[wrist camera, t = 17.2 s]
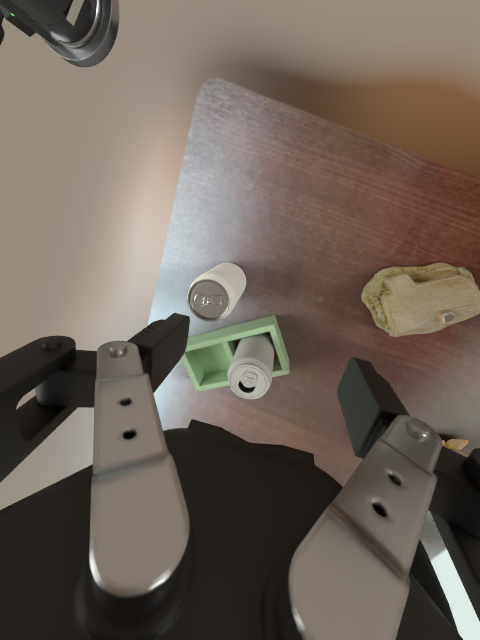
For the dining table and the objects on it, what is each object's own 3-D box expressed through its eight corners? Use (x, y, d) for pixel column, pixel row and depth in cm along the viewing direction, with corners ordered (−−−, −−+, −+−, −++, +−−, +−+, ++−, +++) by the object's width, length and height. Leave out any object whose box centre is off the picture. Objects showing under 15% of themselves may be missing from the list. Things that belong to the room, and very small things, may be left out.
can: (209, 261, 42) (181, 275, 31) (247, 262, 40) (232, 276, 29) (211, 298, 44) (186, 323, 33) (246, 299, 43) (233, 326, 32)
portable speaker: (408, 534, 57) (465, 679, 39) (365, 527, 58) (400, 663, 40) (416, 510, 53) (482, 655, 36) (370, 503, 55) (411, 639, 37)
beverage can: (235, 352, 46) (220, 392, 35) (246, 322, 44) (233, 356, 33) (267, 364, 46) (262, 408, 35) (280, 335, 43) (278, 373, 32)
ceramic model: (371, 339, 42) (395, 371, 32) (355, 277, 38) (377, 293, 29) (469, 314, 38) (528, 344, 28) (460, 243, 34) (524, 250, 25)
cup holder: (186, 337, 48) (177, 348, 44) (275, 314, 43) (273, 324, 39) (204, 377, 50) (196, 391, 46) (289, 360, 46) (289, 373, 41)
